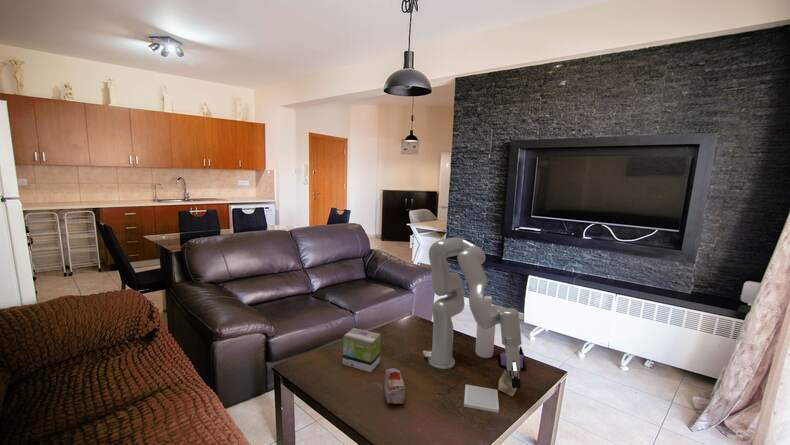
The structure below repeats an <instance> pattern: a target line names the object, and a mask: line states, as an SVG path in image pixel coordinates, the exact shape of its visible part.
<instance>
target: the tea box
mask: <svg viewBox="0 0 790 445" xmlns="http://www.w3.org/2000/svg"><path fill="white" fill-rule="evenodd" d="M381 335H382V334H381V333H377V332H373V331H369V330H364V329H361V328H356V327H352V328H351V329H350V330H349V331H348V332H347V333H345V334H344V335H343V337H342V338H343V340H342V365H344V366H348V367H350V368H355V369H358V370H361V371H364V372H365V371H366V372H368V373H371V372H373V371H374V369H375V368H376V367H377V366H378V365H379V364H380V362H381V344H382V343H381V342H382V341H381V340H382V339H381V338H382V336H381Z"/></svg>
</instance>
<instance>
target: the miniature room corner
mask: <svg viewBox="0 0 790 445" xmlns="http://www.w3.org/2000/svg"><path fill="white" fill-rule="evenodd" d="M519 356H520V371H526V370H527V369H526V365H525V354H524V351H523V348H522V345H520V346H519ZM497 361H498V364H499V365H498V366H499V368H502V369H507V365H506V355H505V352H501V353H500V354H497Z"/></svg>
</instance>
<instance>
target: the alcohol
mask: <svg viewBox="0 0 790 445" xmlns="http://www.w3.org/2000/svg"><path fill="white" fill-rule="evenodd" d="M483 298H484V303H485V305H486V308H488V307H490V306H493V297H492V296H490V295H485V296H484V295H483ZM495 335H496V325H495V326H493V327H491V328H489V329H484V328H482V327H480V326H479V325H478V324H477V323H476V336H475V354H476V355H477V356H478V357H480V358H483V359H490V358H492V357H493V355H494V351H495V350H494V348H495Z"/></svg>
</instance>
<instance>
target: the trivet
mask: <svg viewBox="0 0 790 445" xmlns="http://www.w3.org/2000/svg"><path fill="white" fill-rule="evenodd" d="M464 386H465V388H464V399H463V407H466V408H470V409H476V410H481V411H487V412H492V413H497V414H499V413H500V406H499V405H500V404H499V395H498V394H499V393H498V389H494V388H488V387H483V386H482V387H481V386H477V385H476V386H475V385H471V384H465V385H464Z"/></svg>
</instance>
